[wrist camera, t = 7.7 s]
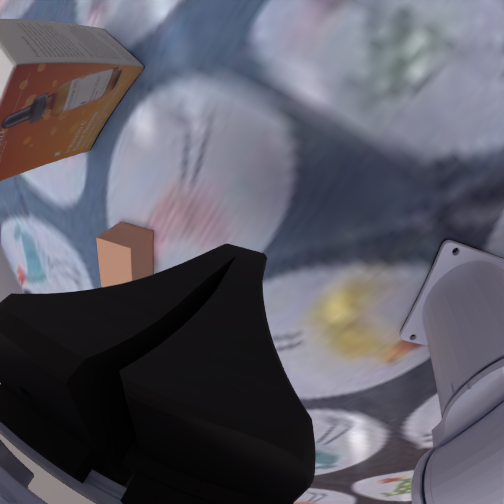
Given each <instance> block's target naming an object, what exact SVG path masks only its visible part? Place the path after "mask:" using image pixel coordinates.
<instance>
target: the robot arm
mask: <svg viewBox="0 0 504 504" xmlns="http://www.w3.org/2000/svg"><path fill="white" fill-rule="evenodd" d="M454 248H458V250H457V251H456V252H455V253H452V251H453V249H454ZM266 261H267V257H266V255H265V254H264V253H260V252H257V251H253V250H249V249H245V248H242V247H238V246H234V245H231V244H224V245H222V246H219V247H217V248H215V249H213V250H211V251H209V252H206V253H204V254H202V255H200V256H198V257H195V258H193V259H191V260H189V261H187V262H184V263H182V264H179V265H177V266H174V267H172V268H169V269H166V270H164V271H161V272H159V273H156V274H153V275H150V276H147V277H144V278H140V279H137V280H133V281H130V282H126V283H122V284H117V285H112V286H107V287H102V288H96V289H91V290H84V291H76V292H65V293H51V294H10V295H9V296H8V297H6V298H5V299H4V300H3V301H1V302H0V383H1V384H0V434H2V435H3V436H4V437H5V438H6V439H7V440H8V441H9V442H10V443H12V444H13V445H14V446H15V447H16V448H17V449H19V450H20V451H21V452H22V453H24V454H25V455H26V456H27V457H28V458H30V459H31V460H32V461H33V462H35V463H36V464H38V465H39V466H40V467H41V468H43V469H44V470H46V471H47V472H48V473H49V474H51V475H52V476H54V477H55V478H57V479H58V480H59V481H61V482H62V483H64V484H65V485H67V486H68V487H70V488H72V489H73V490H74V491H76V492H78V493H79V494H81V495H82V496H84V497H86V498H87V499H89V500H91V501H93V502H94V503H96V504H293V503H294V502H295V501H296V500H297V499H298V498H299V497H300V496H301V495H302V494H303V493H304V492H305V491H306V490H307V489H308V488H309V487H310V485H311V484H312V482H313V479H314V474H315V440H314V432H313V424H312V419H311V417H310V415H309V414H308V412H307V411H306V409H305V408H304V406H303V404H302V403H301V401H300V399H299V398H298V396H297V394H296V392H295V391H294V389H293V387H292V385H291V383H290V381H289V379H288V377H287V375H286V373H285V371H284V368H283V366H282V363H281V361H280V359H279V356H278V354H277V351H276V349H275V346H274V343H273V340H272V337H271V334H270V330H269V326H268V322H267V318H266V312H265V306H264V300H263V286H262V280H263V275H264V270H265V266H266ZM411 335H415V336H411ZM400 337H401V339H402V340H404V341H408V342H413V343H417V344H422V345H426V346H428V347H429V351H430V356H431V360H432V365H433V370H434V375H435V380H436V385H437V391H438V396H439V402H440V409H441V415H442V420H441V422H440V423H439V424H438V425H437V426H436V427H435V428H433V429H432V438H433V448H432V449H430V450H429V451H428V452H426V453H425V454H424V455H423V456H422V457H421V459H420V460H419V462H418V463H417V466H416V468H415V471H414V475H413V479H412V487H411V497H412V504H504V259H502V258H500V257H497V256H494V255H492V254H489V253H486V252H483V251H481V250H478V249H475V248H472V247H469V246H467V245H464V244H461V243H458V242H455V241H452V240H446V241H444V242H443V243H442V245H441V247H440V250H439V252H438V255H437V257H436V259H435V262H434V264H433V266H432V269H431V271H430V273H429V275H428V278H427V280H426V282H425V284H424V286H423V288H422V290H421V292H420V295H419V297H418V299H417V301H416V303H415V305H414V307H413V309H412V311H411V313H410V315H409V317H408V318H407V320H406V322H405V324H404V326H403V328H402V330H401V332H400ZM33 478H34V474H33V473H32V472H31V471H30V470H29V469H28V468H27V467H26V466H25V465H24V464H22V463H21V462H20V461H19V460H18V459H17V458H16V457H15V456H14V455H13V454H12V452H10V450H9V449H8V448H7V447H6V446H5V445H4V443H3V442H2V441H1V440H0V504H47V503H46V502H45V501H43V500H42V499H41V498H39V497H38V496H37V495H35V494H34V493H33V492H31V491H30V490H29V489H28V485H29V483H30V482H31V480H32V479H33Z"/></svg>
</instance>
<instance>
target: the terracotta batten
mask: <svg viewBox="0 0 504 504" xmlns="http://www.w3.org/2000/svg"><path fill="white" fill-rule="evenodd" d="M96 238H97V249H98V260H99V269H100V278H101V286H102V287H107V286H112V285H117V284H122V283H126V282H130V281H133V280H137V279H140V278H144V277H147V276H150V275H153V231H152V230H149V229H145V228H141V227H138V226H134V225H131V224H127V223H123V222H120V223H118V224H116V225H115V226H113V227H112V228H110V229H109V230H107V231H106V232H104V233H103V234H101V235H99V236H98V237H96Z"/></svg>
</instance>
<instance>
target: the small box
mask: <svg viewBox="0 0 504 504" xmlns="http://www.w3.org/2000/svg"><path fill="white" fill-rule="evenodd" d="M143 69H144V66H143V65H142V64H141V63H140V62H139V61H138V60H137V59H136V58H135V57H134V56H132V55H131V54H130V53H129V52H128V51H127V50H126V49H125V48H124V47H123V46H121V45H120V44H119V43H118V42H117V41H116V40H115V39H114V38H112V37H111V36H110V35H109V34H108V33H107V32H105V31H104V30H103V29H101V28H96V27H89V26H83V25H76V24H68V23H60V22H50V21H39V20H22V19H0V181H2V180H5V179H7V178H10V177H13V176H15V175H18V174H20V173H23V172H26V171H29V170H31V169H34V168H37V167H40V166H43V165H45V164H48V163H52V162H55V161H58V160H61V159H64V158H67V157H70V156H74V155H77V154H80V153H83V152H87V151H89V150H90V149H91V147H92V145H93V143H94V141H95V139H96V137H97V135H98V134H99V132H100V130H101V129H102V127H103V126H104V124H105V122H106V121H107V119H108V118H109V116H110V115H111V113H112V112H113V110H114V109H115V107H116V106H117V104H118V103H119V101H120V100H121V99H122V97H123V96H124V94H125V93H126V91H127V90H128V89H129V87H130V86H131V85H132V83H133V82H134V80H135V79H136V78H137V77H138V76H139V74H140V73H141V72H142V70H143Z"/></svg>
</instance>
